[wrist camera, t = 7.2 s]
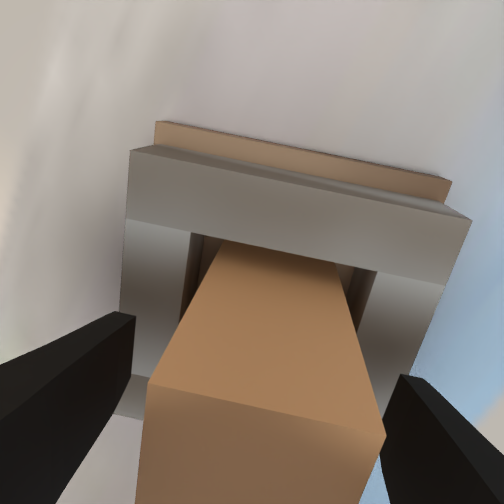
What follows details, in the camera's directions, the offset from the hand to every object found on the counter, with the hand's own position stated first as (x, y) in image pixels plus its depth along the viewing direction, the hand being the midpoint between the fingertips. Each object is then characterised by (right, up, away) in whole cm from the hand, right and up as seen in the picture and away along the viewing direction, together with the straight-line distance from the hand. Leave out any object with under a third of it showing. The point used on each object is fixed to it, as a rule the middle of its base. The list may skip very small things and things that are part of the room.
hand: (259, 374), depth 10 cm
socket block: (+1, +2, +5) cm, 6 cm away
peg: (0, +2, +4) cm, 5 cm away
